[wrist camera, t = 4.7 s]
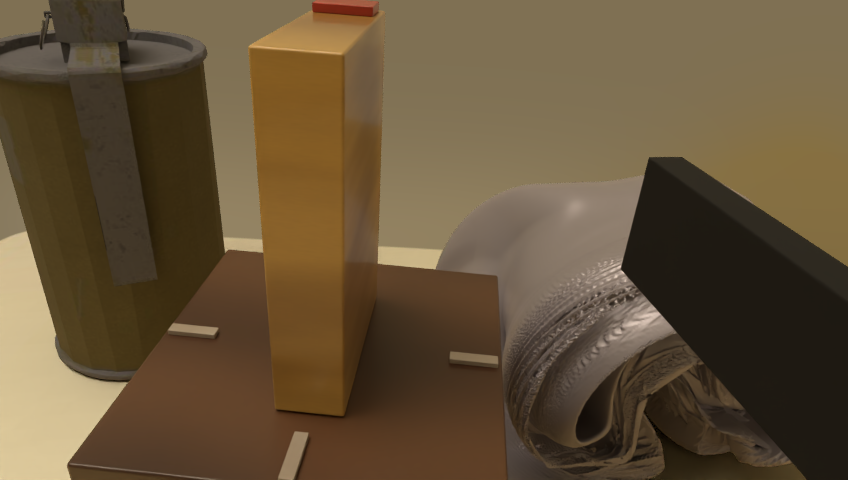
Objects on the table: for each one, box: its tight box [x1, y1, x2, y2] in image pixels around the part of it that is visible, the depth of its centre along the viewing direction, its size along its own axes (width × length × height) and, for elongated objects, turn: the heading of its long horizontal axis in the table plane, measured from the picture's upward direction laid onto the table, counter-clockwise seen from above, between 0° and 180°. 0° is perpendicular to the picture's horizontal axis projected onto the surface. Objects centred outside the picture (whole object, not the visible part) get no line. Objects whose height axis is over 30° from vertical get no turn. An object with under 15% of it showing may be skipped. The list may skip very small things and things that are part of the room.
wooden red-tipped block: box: [248, 0, 385, 416], centre depth 15 cm, size 6×2×9 cm, turn 175°
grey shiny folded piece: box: [436, 175, 792, 480], centre depth 30 cm, size 20×18×15 cm
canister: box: [0, 0, 225, 380], centre depth 34 cm, size 11×10×20 cm
